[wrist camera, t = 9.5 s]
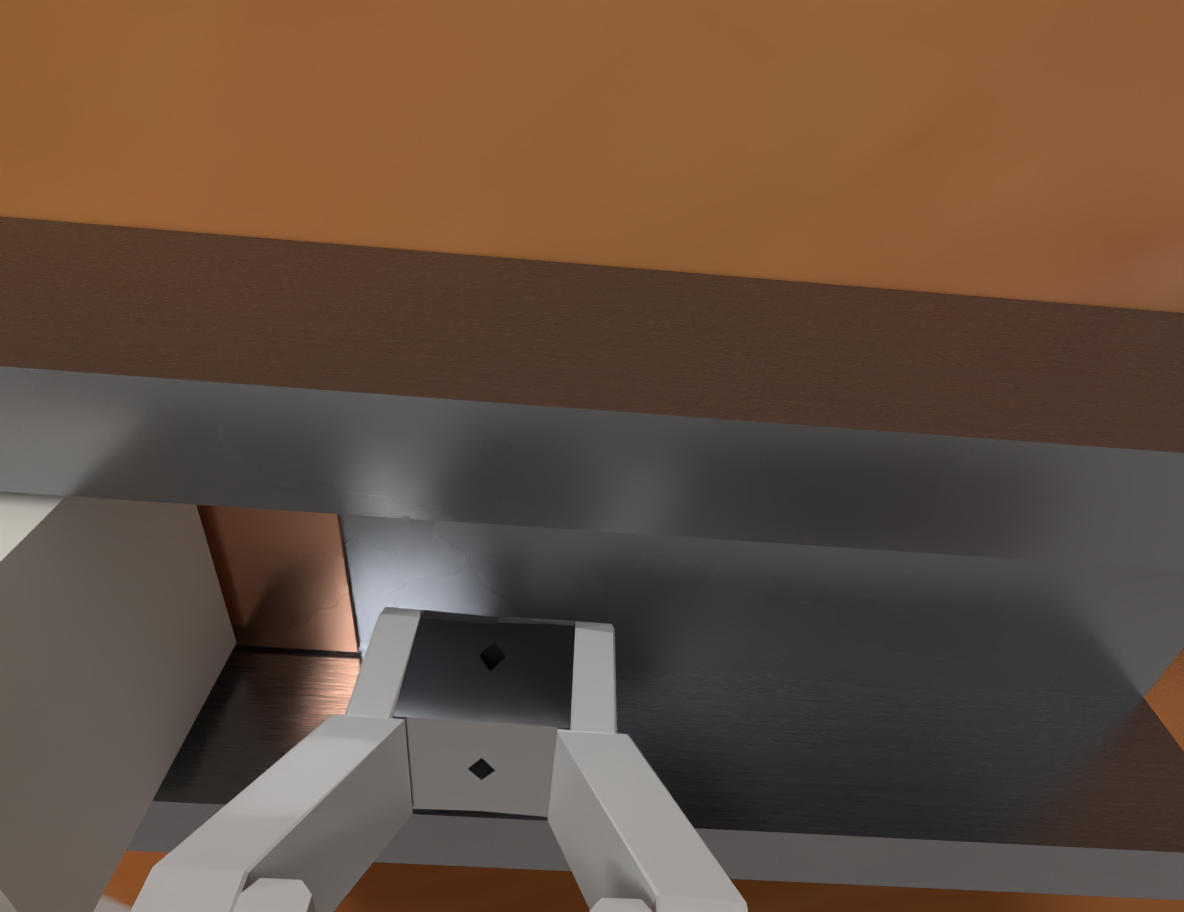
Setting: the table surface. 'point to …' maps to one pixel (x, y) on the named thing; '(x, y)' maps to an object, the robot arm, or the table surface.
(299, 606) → the chute
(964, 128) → the table surface
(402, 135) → the table surface
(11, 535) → the block
